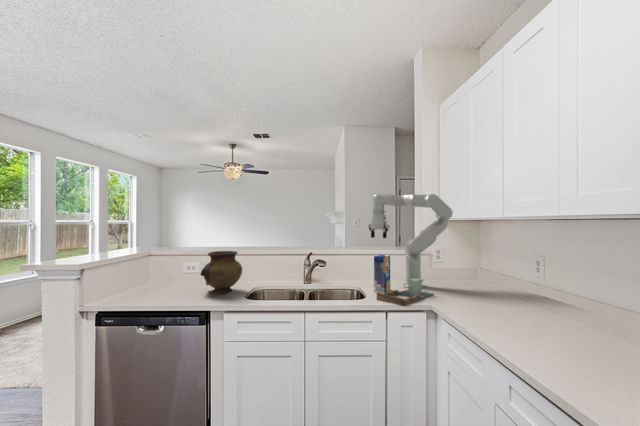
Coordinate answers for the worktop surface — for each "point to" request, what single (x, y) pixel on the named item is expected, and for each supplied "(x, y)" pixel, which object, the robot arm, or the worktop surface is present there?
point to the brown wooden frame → (396, 298)
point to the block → (415, 286)
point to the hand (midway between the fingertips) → (378, 237)
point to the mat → (406, 293)
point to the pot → (222, 271)
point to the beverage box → (381, 273)
